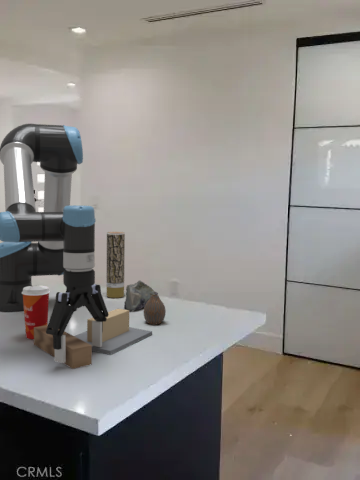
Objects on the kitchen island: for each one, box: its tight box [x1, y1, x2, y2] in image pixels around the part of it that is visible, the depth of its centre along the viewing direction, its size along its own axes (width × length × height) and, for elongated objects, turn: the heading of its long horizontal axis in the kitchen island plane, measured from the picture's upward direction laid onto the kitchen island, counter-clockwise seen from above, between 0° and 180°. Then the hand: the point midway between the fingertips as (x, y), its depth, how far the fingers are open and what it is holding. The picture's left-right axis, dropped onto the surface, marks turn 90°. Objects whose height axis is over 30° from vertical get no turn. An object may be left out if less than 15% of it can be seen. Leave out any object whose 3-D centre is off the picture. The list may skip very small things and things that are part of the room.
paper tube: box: [106, 231, 126, 299], centre depth 188 cm, size 7×7×25 cm
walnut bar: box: [33, 324, 93, 370], centre depth 123 cm, size 22×5×5 cm, turn 40°
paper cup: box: [22, 285, 51, 341], centre depth 137 cm, size 8×8×14 cm
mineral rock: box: [123, 280, 159, 312], centre depth 172 cm, size 13×11×10 cm
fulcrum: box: [74, 308, 153, 356], centre depth 136 cm, size 16×20×7 cm
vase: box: [143, 295, 167, 325], centre depth 153 cm, size 7×7×9 cm
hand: (79, 354), depth 120 cm, fingers open, 13 cm apart
